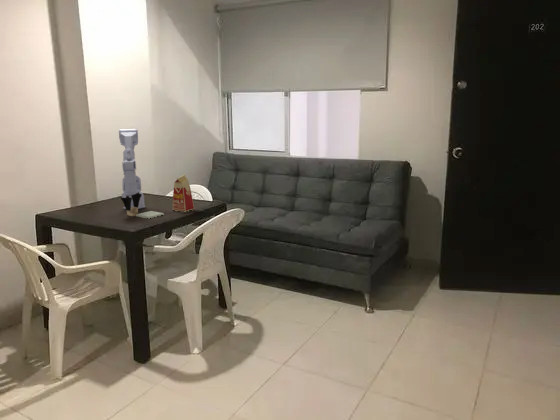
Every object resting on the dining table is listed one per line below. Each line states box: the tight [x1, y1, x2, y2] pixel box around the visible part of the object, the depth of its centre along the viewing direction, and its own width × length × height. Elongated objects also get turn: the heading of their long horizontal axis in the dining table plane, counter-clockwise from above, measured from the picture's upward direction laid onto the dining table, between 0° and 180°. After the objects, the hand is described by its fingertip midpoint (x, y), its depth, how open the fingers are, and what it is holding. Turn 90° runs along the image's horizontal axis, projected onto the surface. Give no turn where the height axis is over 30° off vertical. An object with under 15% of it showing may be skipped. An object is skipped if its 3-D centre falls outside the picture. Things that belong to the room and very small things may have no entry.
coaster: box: [135, 210, 165, 220], centre depth 245 cm, size 10×10×1 cm
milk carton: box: [172, 173, 195, 213], centre depth 256 cm, size 9×9×20 cm
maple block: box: [126, 207, 139, 217], centre depth 247 cm, size 4×4×4 cm
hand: (132, 208), depth 246 cm, fingers open, 7 cm apart
